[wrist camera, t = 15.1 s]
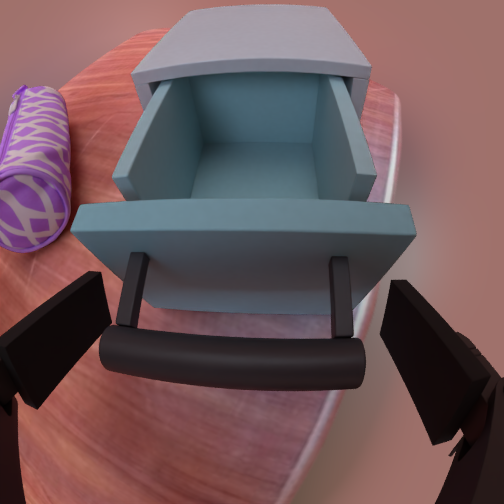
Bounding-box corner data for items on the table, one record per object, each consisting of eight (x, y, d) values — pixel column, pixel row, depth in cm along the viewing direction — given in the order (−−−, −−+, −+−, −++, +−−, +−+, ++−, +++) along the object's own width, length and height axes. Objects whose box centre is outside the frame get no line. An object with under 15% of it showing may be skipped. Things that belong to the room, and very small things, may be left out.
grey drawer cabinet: (340, 193, 21) (372, 66, 11) (175, 192, 22) (129, 73, 12) (319, 93, 28) (326, 7, 18) (205, 94, 29) (189, 10, 19)
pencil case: (24, 151, 28) (-7, 105, 20) (76, 115, 30) (50, 63, 22) (23, 277, 19) (-48, 220, 11) (100, 222, 21) (39, 140, 13)
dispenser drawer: (350, 388, 14) (438, 377, 6) (144, 377, 14) (38, 350, 7) (328, 148, 22) (343, 52, 14) (189, 148, 23) (163, 57, 15)
